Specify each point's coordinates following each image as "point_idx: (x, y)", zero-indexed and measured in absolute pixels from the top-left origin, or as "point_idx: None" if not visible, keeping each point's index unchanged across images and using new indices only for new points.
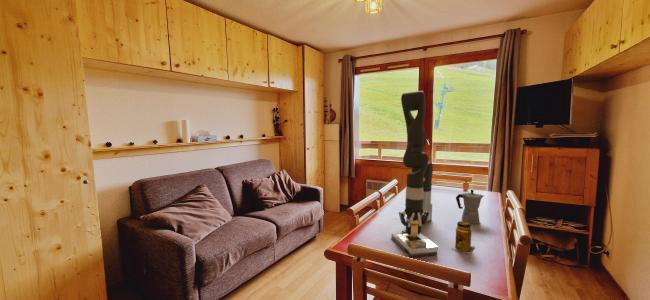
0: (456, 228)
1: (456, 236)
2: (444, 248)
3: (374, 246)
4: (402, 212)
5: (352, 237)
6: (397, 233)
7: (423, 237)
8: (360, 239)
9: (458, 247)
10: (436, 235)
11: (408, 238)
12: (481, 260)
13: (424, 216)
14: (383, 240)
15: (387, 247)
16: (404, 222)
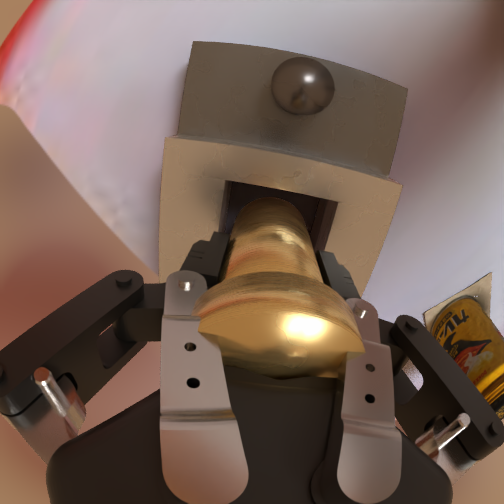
0: (489, 377)
1: (464, 356)
2: (408, 296)
3: (54, 146)
4: (25, 437)
5: (17, 36)
6: (249, 46)
7: (352, 266)
8: (32, 57)
9: (436, 335)
10: (495, 165)
11: (235, 222)
12: (414, 382)
13: (418, 426)
14: (126, 76)
15: (106, 175)
16: (109, 356)
